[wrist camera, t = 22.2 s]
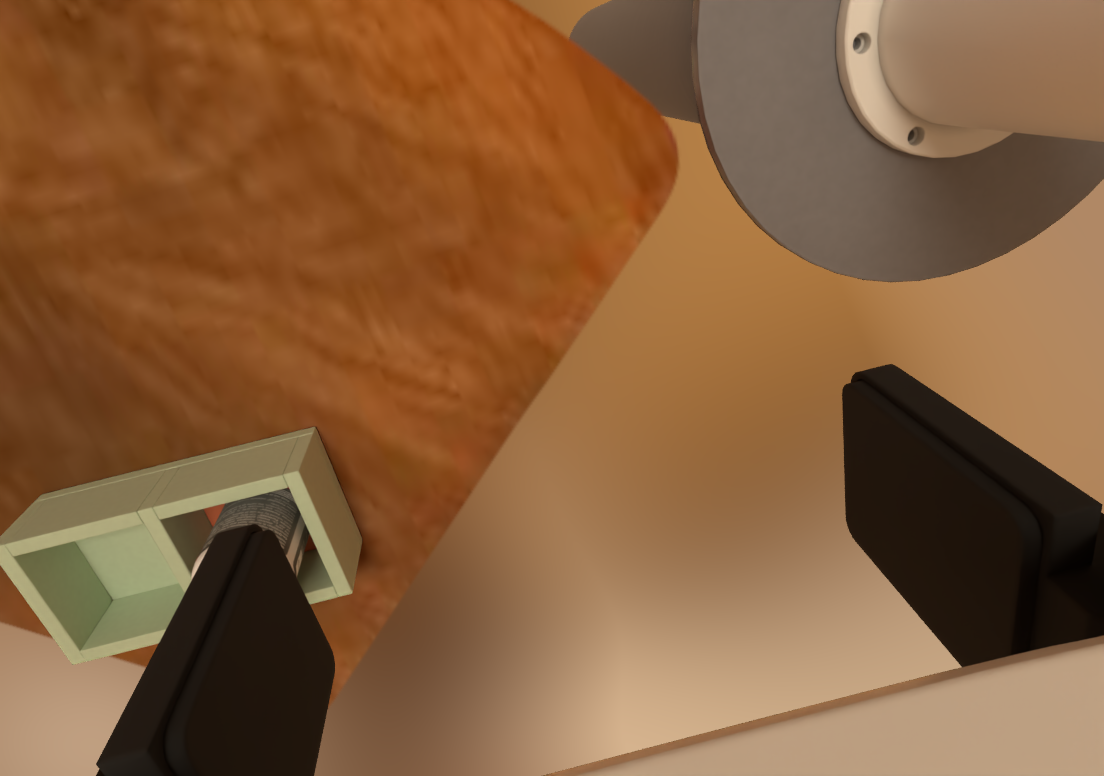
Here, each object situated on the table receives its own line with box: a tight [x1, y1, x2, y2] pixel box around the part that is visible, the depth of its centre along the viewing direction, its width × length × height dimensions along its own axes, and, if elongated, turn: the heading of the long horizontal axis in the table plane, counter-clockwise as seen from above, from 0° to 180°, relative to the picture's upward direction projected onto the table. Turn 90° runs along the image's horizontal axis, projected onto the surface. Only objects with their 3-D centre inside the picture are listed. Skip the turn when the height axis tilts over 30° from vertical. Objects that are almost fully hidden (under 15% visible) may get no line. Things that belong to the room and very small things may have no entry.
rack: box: [0, 427, 362, 665], centre depth 38 cm, size 15×8×5 cm, turn 102°
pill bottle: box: [191, 487, 310, 581], centre depth 35 cm, size 5×5×8 cm
